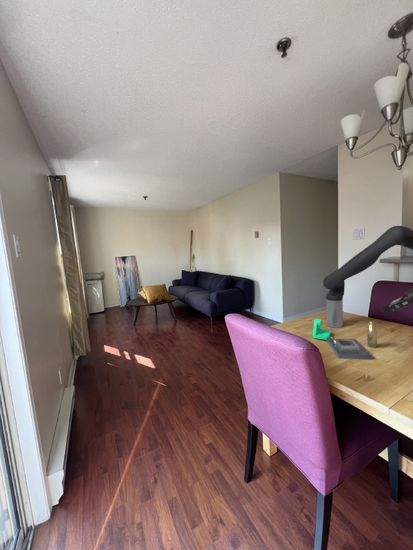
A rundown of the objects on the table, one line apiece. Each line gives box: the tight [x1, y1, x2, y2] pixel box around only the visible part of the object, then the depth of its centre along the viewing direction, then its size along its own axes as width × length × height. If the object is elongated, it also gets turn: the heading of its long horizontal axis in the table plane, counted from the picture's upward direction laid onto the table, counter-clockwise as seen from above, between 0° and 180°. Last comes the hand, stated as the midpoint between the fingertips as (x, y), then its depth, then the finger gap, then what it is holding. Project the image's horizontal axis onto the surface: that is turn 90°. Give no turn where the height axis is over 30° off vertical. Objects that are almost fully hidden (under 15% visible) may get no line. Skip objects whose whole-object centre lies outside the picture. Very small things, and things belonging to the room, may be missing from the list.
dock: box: [326, 336, 373, 360], centre depth 114 cm, size 18×14×4 cm
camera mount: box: [312, 318, 332, 341], centre depth 132 cm, size 12×8×10 cm, turn 144°
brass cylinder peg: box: [366, 320, 378, 349], centre depth 116 cm, size 4×4×13 cm
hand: (381, 310), depth 109 cm, fingers open, 8 cm apart
